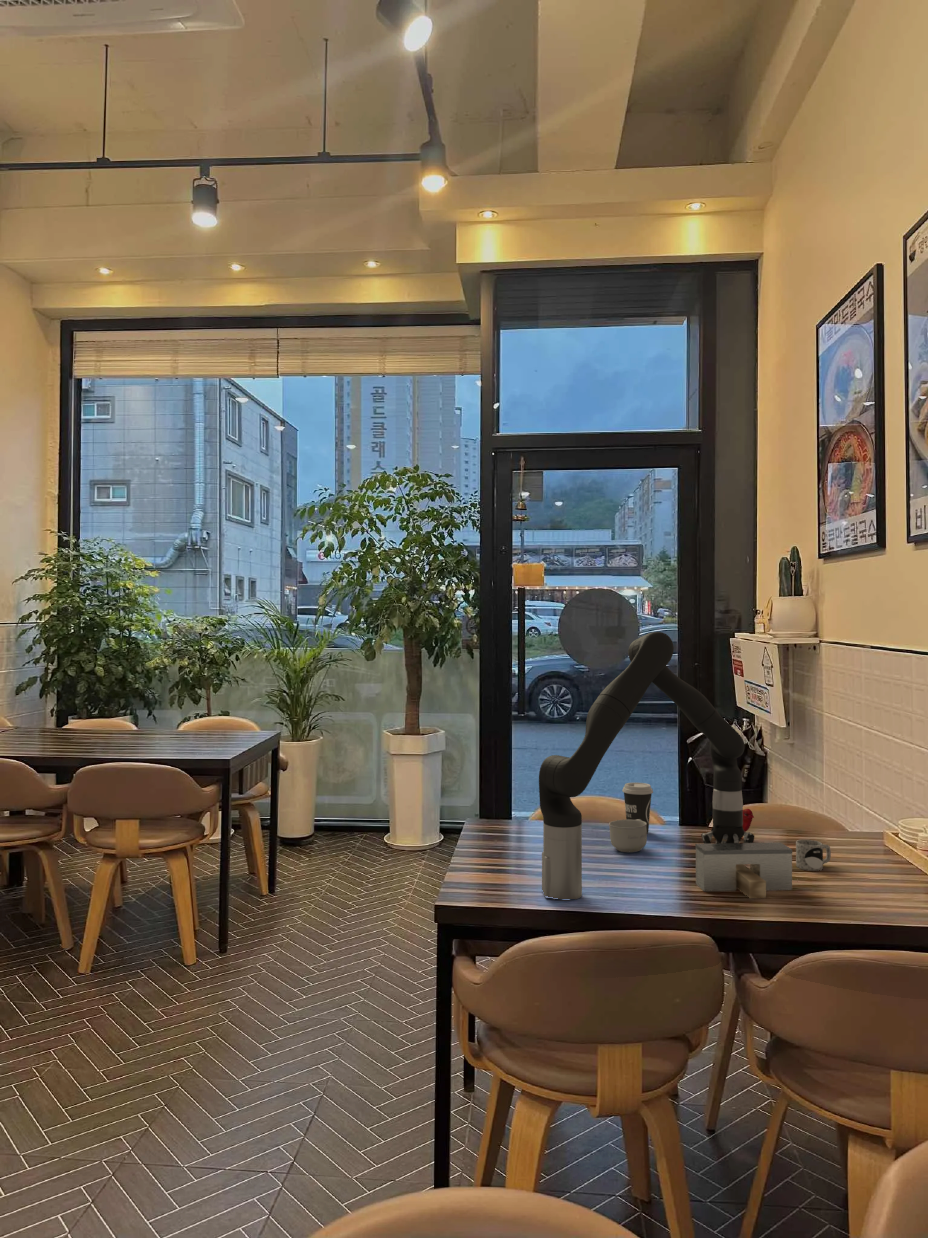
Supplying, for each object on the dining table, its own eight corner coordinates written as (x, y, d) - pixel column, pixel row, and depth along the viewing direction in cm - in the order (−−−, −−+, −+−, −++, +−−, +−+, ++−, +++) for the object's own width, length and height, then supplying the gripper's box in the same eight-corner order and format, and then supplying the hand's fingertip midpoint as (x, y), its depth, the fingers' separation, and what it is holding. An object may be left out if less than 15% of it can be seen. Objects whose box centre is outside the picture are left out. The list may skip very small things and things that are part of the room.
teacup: (631, 857, 228) (631, 828, 228) (601, 849, 236) (601, 822, 236) (660, 848, 237) (660, 821, 237) (630, 841, 245) (630, 814, 245)
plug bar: (749, 898, 193) (749, 881, 193) (716, 871, 215) (716, 856, 215) (766, 898, 193) (765, 881, 193) (731, 871, 215) (731, 855, 215)
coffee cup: (630, 827, 263) (629, 780, 263) (658, 831, 257) (657, 784, 257) (617, 833, 255) (617, 785, 255) (645, 837, 249) (645, 789, 249)
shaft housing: (704, 891, 198) (704, 850, 198) (695, 883, 204) (695, 843, 204) (792, 890, 199) (792, 849, 199) (781, 882, 205) (780, 842, 205)
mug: (807, 872, 214) (807, 846, 214) (790, 865, 221) (790, 840, 221) (839, 869, 217) (838, 844, 217) (821, 862, 223) (821, 838, 223)
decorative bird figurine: (750, 844, 242) (750, 810, 242) (709, 831, 258) (709, 799, 258) (758, 843, 243) (757, 810, 243) (717, 830, 259) (716, 798, 259)
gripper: (748, 803, 216) (749, 868, 216) (696, 804, 216) (696, 868, 216) (760, 809, 209) (760, 876, 209) (705, 810, 208) (706, 877, 208)
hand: (727, 872), depth 212 cm, fingers closed on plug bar, 4 cm apart
